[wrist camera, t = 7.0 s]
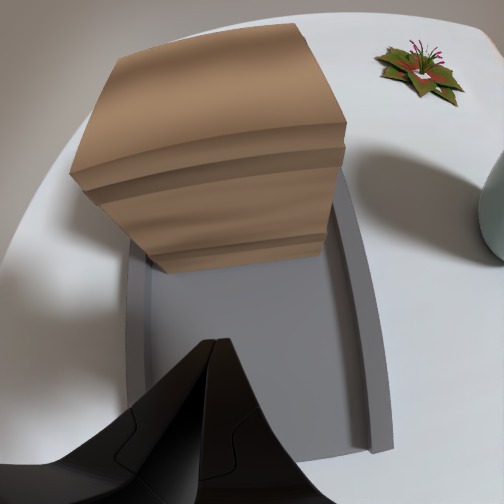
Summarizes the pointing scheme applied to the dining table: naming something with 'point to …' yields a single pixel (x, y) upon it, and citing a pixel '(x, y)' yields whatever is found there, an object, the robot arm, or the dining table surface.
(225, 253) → the brown wooden block
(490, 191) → the cup
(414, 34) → the dining table surface
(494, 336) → the dining table surface
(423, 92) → the lily flower
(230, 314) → the bay
